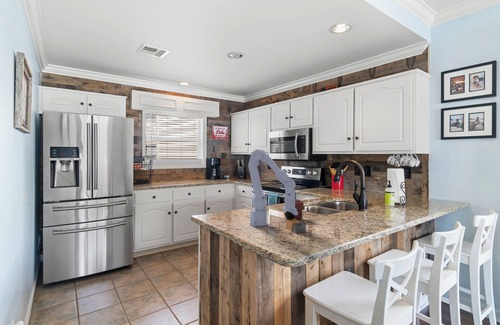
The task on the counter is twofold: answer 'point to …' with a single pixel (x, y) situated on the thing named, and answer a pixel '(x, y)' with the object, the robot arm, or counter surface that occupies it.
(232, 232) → the counter surface
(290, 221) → the notched orange block
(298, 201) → the mechanical component
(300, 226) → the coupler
